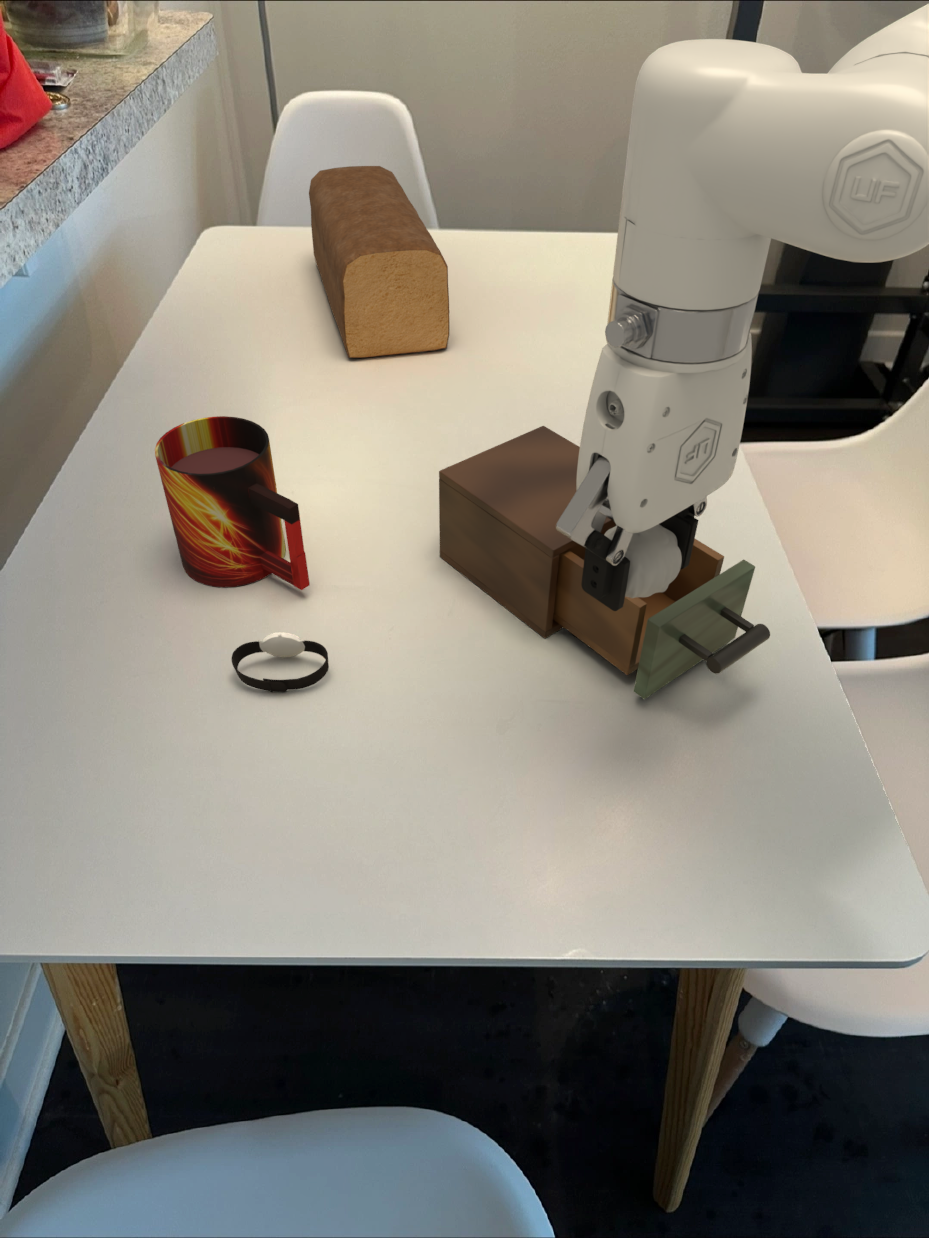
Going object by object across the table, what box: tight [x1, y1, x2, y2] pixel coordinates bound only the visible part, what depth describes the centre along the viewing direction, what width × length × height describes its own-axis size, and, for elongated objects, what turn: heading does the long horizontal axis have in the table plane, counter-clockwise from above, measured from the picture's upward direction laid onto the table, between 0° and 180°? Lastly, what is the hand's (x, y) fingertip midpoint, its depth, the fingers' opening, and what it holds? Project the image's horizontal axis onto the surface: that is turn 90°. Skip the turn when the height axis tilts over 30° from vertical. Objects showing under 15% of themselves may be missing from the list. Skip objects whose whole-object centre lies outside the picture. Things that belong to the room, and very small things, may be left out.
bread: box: [308, 165, 450, 359], centre depth 124 cm, size 14×34×14 cm, turn 14°
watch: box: [230, 631, 330, 693], centre depth 74 cm, size 8×5×4 cm, turn 92°
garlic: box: [604, 524, 682, 598], centre depth 59 cm, size 6×5×5 cm
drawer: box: [553, 524, 771, 700], centre depth 75 cm, size 18×11×8 cm, turn 39°
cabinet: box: [438, 425, 616, 639], centre depth 82 cm, size 15×13×10 cm
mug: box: [154, 415, 310, 591], centre depth 82 cm, size 10×14×12 cm
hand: (635, 576), depth 61 cm, fingers closed on garlic, 5 cm apart
